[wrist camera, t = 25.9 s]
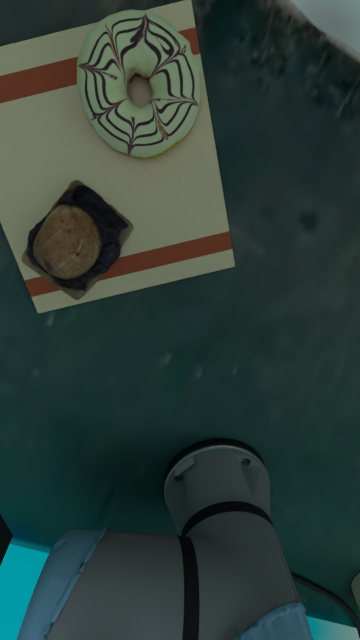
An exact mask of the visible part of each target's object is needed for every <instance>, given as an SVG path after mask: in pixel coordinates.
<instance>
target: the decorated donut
mask: <svg viewBox="0 0 360 640" xmlns="http://www.w3.org/2000/svg"><path fill="white" fill-rule="evenodd" d="M200 72H201V68H200V65H199V62H198V60H197V58H196V57H195V56H194V55H193V54H192V52H191V47H190V43H189V41H188V40H187V39H186V38H184V37H183V36H182V35H181V34H179V33H178V32H177V30H176V29H175V28H174V27H173V26H172V24H171V23H169V22H168V21H167V20H165V19H164V18H163V17H161V16H159V15H157V14H155V13H150V12H146V11H140V10H127V11H121V12H118V13H115V14H113V15H109V16H108V17H106V18H105V19H103V20H101V21H100V22H99V23H97V24H96V25H95V26H94V27H93V28H92V29H91V30H90V31H89V33H88V34H87V36H86V38H85V40H84V43H83V45H82V47H81V51H80V54H79V56H78V60H77V85H78V91H79V93H80V99H81V102H82V105H83V110H84V112H85V114H86V116H87V118H88V120H89V121H90V123H91V125H92V126H93V128H94V130H95V131H96V133H97V134H98V135H99V136H100V138H101V139H102V140H103V141H104V142H105V143H106V144H107V145H108V146H109V147H111V148H112V149H113V150H115V151H116V152H119V153H121V154H123V155H126V156H129V157H133V158H137V159H154V158H157V157H160V156H162V155H164V154H165V153H167V152H168V151H170V150H172V149H174V147H176V146H178V145H179V143H181V142H182V141H183V140H184V139H185V138H186V136H187V135H188V134H189V133H190V131H191V130H192V128H193V126H194V122H195V120H196V118H197V115H198V112H199V109H200V106H201V100H202V98H201V83H200V79H201V77H200ZM136 76H142V78H146V79H147V80H148V81H149V83H150V85H151V88H152V97H151V99H150V101H149V102H148V103H147V104H146V105H145V106H142V107H138V106H136V105H134V104H133V103H132V101H131V100H130V99H129V97H128V94H127V93H128V84H129V83H130V81H131V79H132V78H134V77H136Z"/></svg>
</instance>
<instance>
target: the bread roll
mask: <svg viewBox="0 0 360 640" xmlns="http://www.w3.org/2000/svg"><path fill="white" fill-rule="evenodd" d="M132 230H133V225H132V223H131V222H130V221H129V219H126V218H125V216H123V215H121V213H119V212H118V211H117V210H116V209H115V208H114V207H113V206H112V205H109V204H108V203H107V202H105V201H104V200H103V198H102V197H101V196H100V195H99V194H97V193H96V192H95V191H94V190H92V189H91V188H89V187H87V186H86V185H85V184H84V183H82V182H81V181H79V180H75V181H72V182H71V183H70V184H69V187H68V188H67V189H66V190H65V191H64V192H63V194H62V196H61V197H60V198H59V199H58V200H57V201H56V202H55V203H54V205H53V206H52V208H51V209H50V211H49V212H48V214H47V215H46V216H45V217H44V218H43V219H42V220H41V221H40V222H39V223H37V224H36V225H35V227H34V228H33V229H31V230H30V231H29V235H28V239H27V240H28V244H27V247H26V250H25V251H24V253H23V255H22V262H23V263H24V264H25V265H26V266H28V267H29V268H30V269H32V270H34V271H35V272H36V273H38V274H39V275H40V276H42V277H43V278H45V279H46V280H47V281H49V282H50V283H52V284H53V285H55V286H56V287H57V288H59V289H60V290H62V291H63V292H65V293H66V294H68V295H69V296H71V297H72V298H73V299H75V300H79V299H81V298H82V297H83V296H84V295H85V294H86V293H87V292H88V291H89V290H90V288H92V286H93V285H94V284H95V283H96V282H97V281H98V279H99V278H100V277H101V276H102V275H103V274H104V273H106V272H107V271H109V268H110V267H111V266H112V265H113V264H114V263H115V262H116V260H117V259H118V258H119V256H120V255H121V254H120V253H121V250H120V249H121V248H122V246H123V245H124V243H125V242H126V240H127V238H128V237H129V236H130V233H131V232H132Z"/></svg>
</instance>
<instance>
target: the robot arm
mask: <svg viewBox="0 0 360 640" xmlns="http://www.w3.org/2000/svg"><path fill="white" fill-rule="evenodd" d="M164 496H165V501H166V504H167V506H168V509H169V511H170V514H171V516H172V518H173V521H174V523H175V525H176V528H177V530H178V532H179V535H180V536H177V535H166V534H151V533H136V532H121V531H110V530H108V528H103V529H73V530H70V531H68V532H66V533H64V534H63V535H62V536H61V537H60V538H59V539H58V540H57V542H56V543H55V545H54V546H53V548H52V550H51V552H50V554H49V556H48V558H47V560H46V562H45V564H44V567H43V569H42V572H41V574H40V576H39V579H38V581H37V584H36V587H35V589H34V591H33V594H32V597H31V600H30V602H29V605H28V608H27V610H26V613H25V616H24V619H23V622H22V625H21V628H20V631H19V634H18V637H17V640H313V638H312V635H311V631H310V628H309V624H308V621H307V617H306V610H305V607H304V605H303V604H302V603H301V601H300V598H299V595H298V592H297V590H296V587H295V584H294V581H297V582H299V583H301V584H303V585H305V586H307V587H309V588H311V589H313V590H315V591H317V592H319V593H321V594H323V595H325V596H327V597H329V598H330V599H332V600H333V601H335V602H336V603H338V604H339V605H340V606H341V607H343V608H344V609H345V610H346V611H347V612H348V613H349V615H350V616H351V617H352V619H353V620H354V622H355V624H356V627H357V630H358V634H359V638H360V623H359V621H358V619H357V617H356V616H355V614H354V613H353V612H352V610H351V609H350V608H349V607H348V606H347V605H346V604H345V603H344V602H342V601H341V600H340V599H339V598H337V597H336V596H334V595H333V594H331V593H329V592H328V591H326V590H324V589H322V588H320V587H318V586H316V585H314V584H312V583H310V582H308V581H306V580H304V579H302V578H300V577H298V576H295V575H293V574H291V573H290V570H289V568H288V565H287V562H286V560H285V557H284V554H283V551H282V549H281V546H280V543H279V540H278V538H277V535H276V532H275V530H274V527H273V524H272V521H271V518H270V478H269V474H268V472H267V469H266V467H265V464H264V462H263V460H262V458H261V457H260V455H259V454H258V453H257V452H256V451H255V450H254V449H252V448H251V447H249V446H248V445H246V444H243V443H241V442H238V441H234V440H228V439H214V440H207V441H203V442H200V443H197V444H194V445H192V446H190V447H188V448H187V449H185V450H183V451H182V452H181V453H180V454H178V455H177V456H176V457H175V458H174V459H173V461H172V462H171V463H170V465H169V466H168V468H167V471H166V473H165V477H164ZM12 536H13V534H12V533H11V531H10V529H9V528H8V526H7V524H6V523H5V521H4V519H3V518H2V516H1V514H0V565H1V563H2V560H3V558H4V556H5V553H6V551H7V548H8V546H9V544H10V541H11V539H12ZM293 580H294V581H293Z"/></svg>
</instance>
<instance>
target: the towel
mask: <svg viewBox="0 0 360 640" xmlns="http://www.w3.org/2000/svg"><path fill="white" fill-rule="evenodd" d="M144 11H146V12H150V13H155V14H157V15H159V16H161V17H163V18H164V19H165V20H167V21H168V22H169V23H171V24H172V26H173V27H174V28H175V29H176V30H177V32H178V33H179V34H181V35H182V36H183V37H184V38H186V39H187V40H188V41H189V43H190V47H191V52H192V54H193V55H194V56H195V57H196V58H197V60H198V62H199V65H200V68H201V72H200V77H201V79H200V83H201V98H202V100H201V106H200V109H199V112H198V115H197V118H196V120H195V122H194V126H193V128H192V130H191V131H190V133H189V134H188V135H187V136H186V138H185V139H184V140H183V141H182V142H181V143H179V145H178V146H176V147H174V149H172V150H170V151H168V152H167V153H165V154H164V155H162V156H160V157H157V158H154V159H137V158H133V157H129V156H126V155H123V154H121V153H119V152H116V151H115V150H113V149H112V148H111V147H109V146H108V145H107V144H106V143H105V142H104V141H103V140H102V139H101V138H100V136H99V135H98V134H97V133H96V131H95V130H94V128H93V126H92V125H91V123H90V121H89V120H88V118H87V116H86V114H85V112H84V110H83V105H82V102H81V99H80V93H79V91H78V85H77V60H78V56H79V54H80V51H81V47H82V45H83V43H84V40H85V38H86V36H87V34H88V33H89V31H90V30H91V29H92V28H93V27H94V26H95V25H96V24H97V23H99V22H97V23H93V24H89V25H85V26H81V27H77V28H73V29H69V30H65V31H61V32H57V33H53V34H49V35H45V36H41V37H37V38H33V39H29V40H25V41H21V42H17V43H13V44H9V45H5V46H1V47H0V222H1V225H2V227H3V230H4V232H5V234H6V237H7V239H8V242H9V244H10V247H11V249H12V251H13V254H14V256H15V259H16V261H17V264H18V266H19V268H20V271H21V273H22V276H23V278H24V281H25V283H26V286H27V288H28V291H29V293H30V295H31V298H32V300H33V302H34V305H35V307H36V310H37V312H38V313H42V312H47V311H51V310H55V309H59V308H63V307H67V306H72V305H76V304H80V303H84V302H88V301H93V300H97V299H101V298H105V297H109V296H113V295H118V294H122V293H126V292H130V291H134V290H139V289H143V288H147V287H151V286H155V285H160V284H164V283H168V282H172V281H176V280H180V279H185V278H189V277H193V276H197V275H201V274H206V273H210V272H214V271H218V270H222V269H226V268H231V267H235V262H234V256H233V250H232V244H231V238H230V232H229V226H228V220H227V214H226V208H225V202H224V196H223V189H222V183H221V177H220V171H219V165H218V159H217V153H216V147H215V141H214V135H213V129H212V123H211V117H210V111H209V105H208V99H207V93H206V87H205V81H204V75H203V69H202V63H201V57H200V50H199V44H198V38H197V32H196V26H195V20H194V14H193V8H192V2H191V0H184V1H180V2H176V3H172V4H168V5H164V6H160V7H156V8H152V9H148V10H144ZM127 94H128V97H129V99H130V100H131V101H132V103H133V104H134V105H136V106H138V107H142V106H145V105H146V104H147V103H148V102H149V101H150V99H151V97H152V88H151V85H150V83H149V81H148V80H147V79H146V78H142V76H136V77H134V78H132V79H131V81H130V83H129V84H128V93H127ZM75 180H79V181H81V182H82V183H84V184H85V185H86V186H87V187H89V188H91V189H92V190H94V191H95V192H96V193H97V194H99V195H100V196H101V197H102V198H103V200H104V201H105V202H107V203H108V204H109V205H112V206H113V207H114V208H115V209H116V210H117V211H118V212H119V213H121V215H123V216H125V218H126V219H129V221H130V222H131V223H132V225H133V230H132V232H131V233H130V236H129V237H128V238H127V240H126V242H125V243H124V245H123V246H122V248H121V249H120V250H121V253H120V254H121V255H120V256H119V258H118V259H117V260H116V262H115V263H114V264H113V265H112V266H111V267H110V268H109V271H107V272H106V273H104V274H103V275H102V276H101V277H100V278H99V279H98V281H97V282H96V283H95V284H94V285H93V286H92V288H90V290H89V291H88V292H87V293H86V294H85V295H84V296H83V297H82V298H81V299H79V300H75V299H73V298H72V297H71V296H69V295H68V294H66V293H65V292H63V291H62V290H60V289H59V288H57V287H56V286H55V285H53V284H52V283H50V282H49V281H47V280H46V279H45V278H43V277H42V276H40V275H39V274H38V273H36V272H35V271H34V270H32V269H30V268H29V267H28V266H26V265H25V264H24V263H23V262H22V255H23V253H24V251H25V250H26V247H27V244H28V240H27V239H28V235H29V231H30V230H31V229H33V228H34V227H35V225H36V224H37V223H39V222H40V221H41V220H42V219H43V218H44V217H45V216H46V215H47V214H48V212H49V211H50V209H51V208H52V206H53V205H54V203H55V202H56V201H57V200H58V199H59V198H60V197H61V196H62V194H63V192H64V191H65V190H66V189H67V188H68V187H69V184H70V183H71V182H72V181H75Z"/></svg>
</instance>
